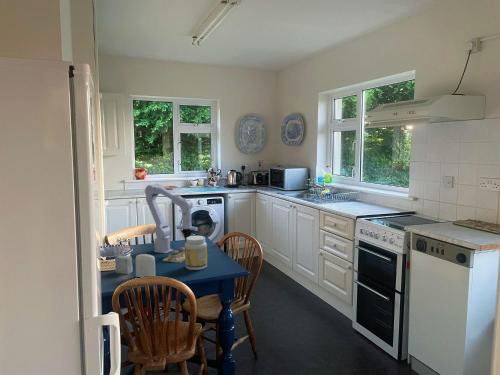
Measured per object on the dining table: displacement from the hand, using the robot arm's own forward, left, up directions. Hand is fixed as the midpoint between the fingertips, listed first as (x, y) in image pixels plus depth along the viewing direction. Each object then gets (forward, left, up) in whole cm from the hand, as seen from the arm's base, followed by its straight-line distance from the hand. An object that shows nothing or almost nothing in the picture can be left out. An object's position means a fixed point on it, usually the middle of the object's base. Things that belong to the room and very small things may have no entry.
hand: (187, 240), depth 239 cm
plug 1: (0, -14, -7) cm, 16 cm away
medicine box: (-13, -43, -9) cm, 46 cm away
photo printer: (+3, -45, -9) cm, 46 cm away
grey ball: (0, -7, -7) cm, 10 cm away
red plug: (0, 0, -6) cm, 7 cm away
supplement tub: (+19, -21, -8) cm, 30 cm away
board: (0, -7, -8) cm, 11 cm away
